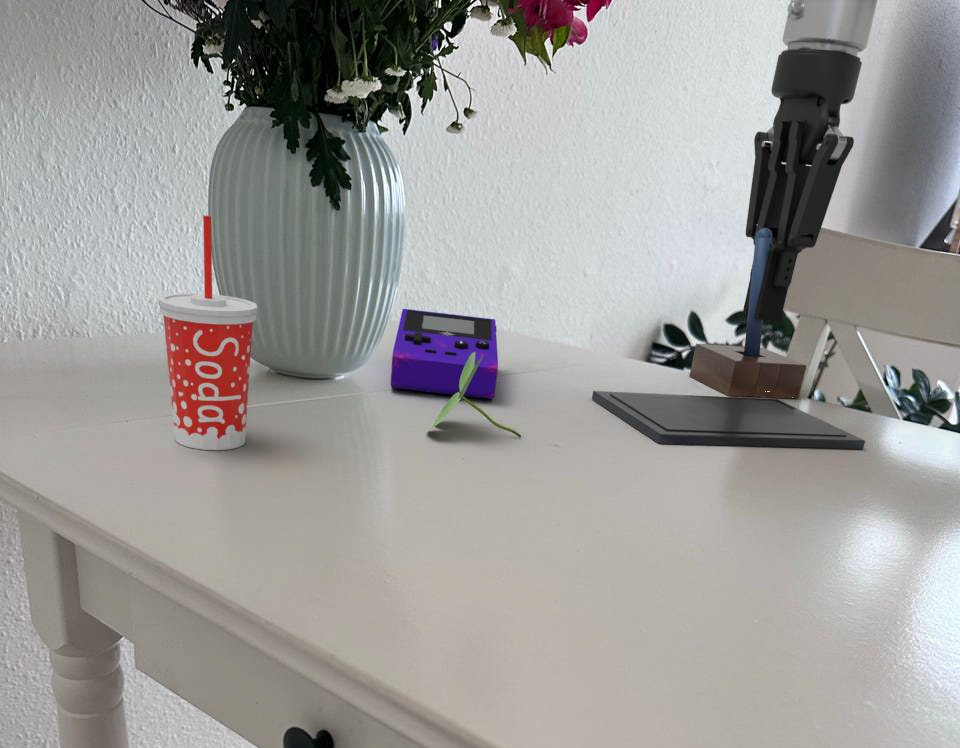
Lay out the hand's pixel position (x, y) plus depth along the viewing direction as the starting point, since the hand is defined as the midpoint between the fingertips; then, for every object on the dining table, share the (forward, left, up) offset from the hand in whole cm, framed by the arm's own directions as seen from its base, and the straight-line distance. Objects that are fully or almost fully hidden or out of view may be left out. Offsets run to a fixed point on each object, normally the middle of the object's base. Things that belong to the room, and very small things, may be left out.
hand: (761, 317), depth 99 cm
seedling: (+37, +21, -7) cm, 43 cm away
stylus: (0, 0, -5) cm, 5 cm away
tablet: (+11, +15, -7) cm, 20 cm away
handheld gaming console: (+34, +3, -7) cm, 35 cm away
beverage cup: (+56, +24, -7) cm, 61 cm away
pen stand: (0, 0, -7) cm, 7 cm away
